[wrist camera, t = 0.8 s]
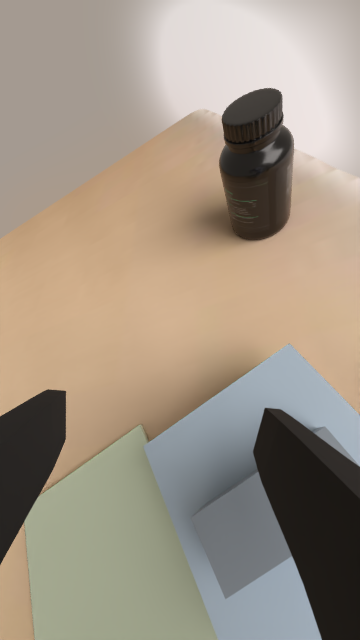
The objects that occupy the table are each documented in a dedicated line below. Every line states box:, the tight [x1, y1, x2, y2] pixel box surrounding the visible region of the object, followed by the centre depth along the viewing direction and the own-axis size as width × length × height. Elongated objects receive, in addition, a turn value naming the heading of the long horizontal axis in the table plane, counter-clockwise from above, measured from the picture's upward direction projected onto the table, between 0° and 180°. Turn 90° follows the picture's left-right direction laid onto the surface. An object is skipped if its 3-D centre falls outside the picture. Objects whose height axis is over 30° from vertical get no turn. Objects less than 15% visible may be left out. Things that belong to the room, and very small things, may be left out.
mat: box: [24, 424, 218, 640], centre depth 19 cm, size 15×15×1 cm
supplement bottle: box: [219, 88, 294, 240], centre depth 24 cm, size 7×7×12 cm
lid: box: [143, 343, 360, 640], centre depth 12 cm, size 12×12×5 cm
